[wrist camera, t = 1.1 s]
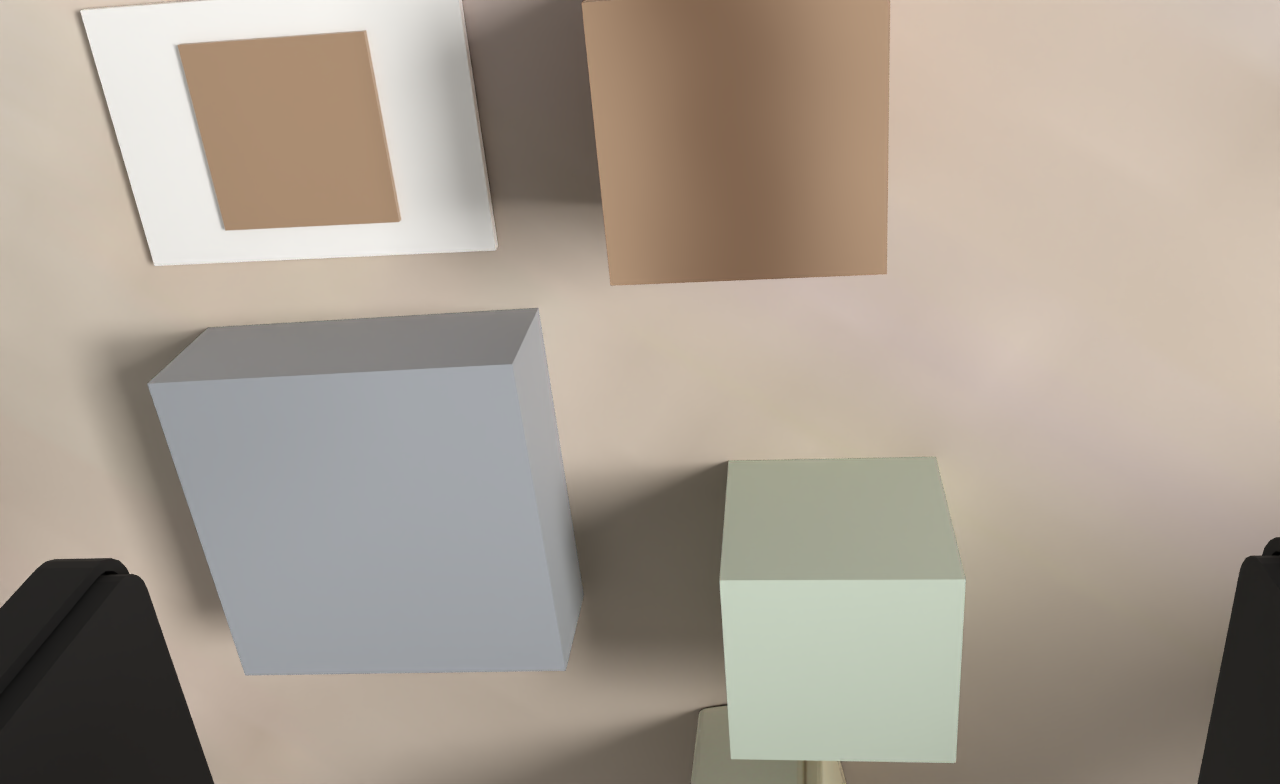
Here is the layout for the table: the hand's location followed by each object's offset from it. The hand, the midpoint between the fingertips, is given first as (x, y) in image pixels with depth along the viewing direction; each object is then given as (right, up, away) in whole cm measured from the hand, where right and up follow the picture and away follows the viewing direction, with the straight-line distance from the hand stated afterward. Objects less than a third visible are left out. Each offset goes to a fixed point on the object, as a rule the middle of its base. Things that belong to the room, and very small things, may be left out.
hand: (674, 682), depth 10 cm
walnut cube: (+2, +10, +19) cm, 22 cm away
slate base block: (-8, 0, +25) cm, 27 cm away
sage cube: (+6, -2, +25) cm, 26 cm away
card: (-9, +10, +21) cm, 25 cm away
